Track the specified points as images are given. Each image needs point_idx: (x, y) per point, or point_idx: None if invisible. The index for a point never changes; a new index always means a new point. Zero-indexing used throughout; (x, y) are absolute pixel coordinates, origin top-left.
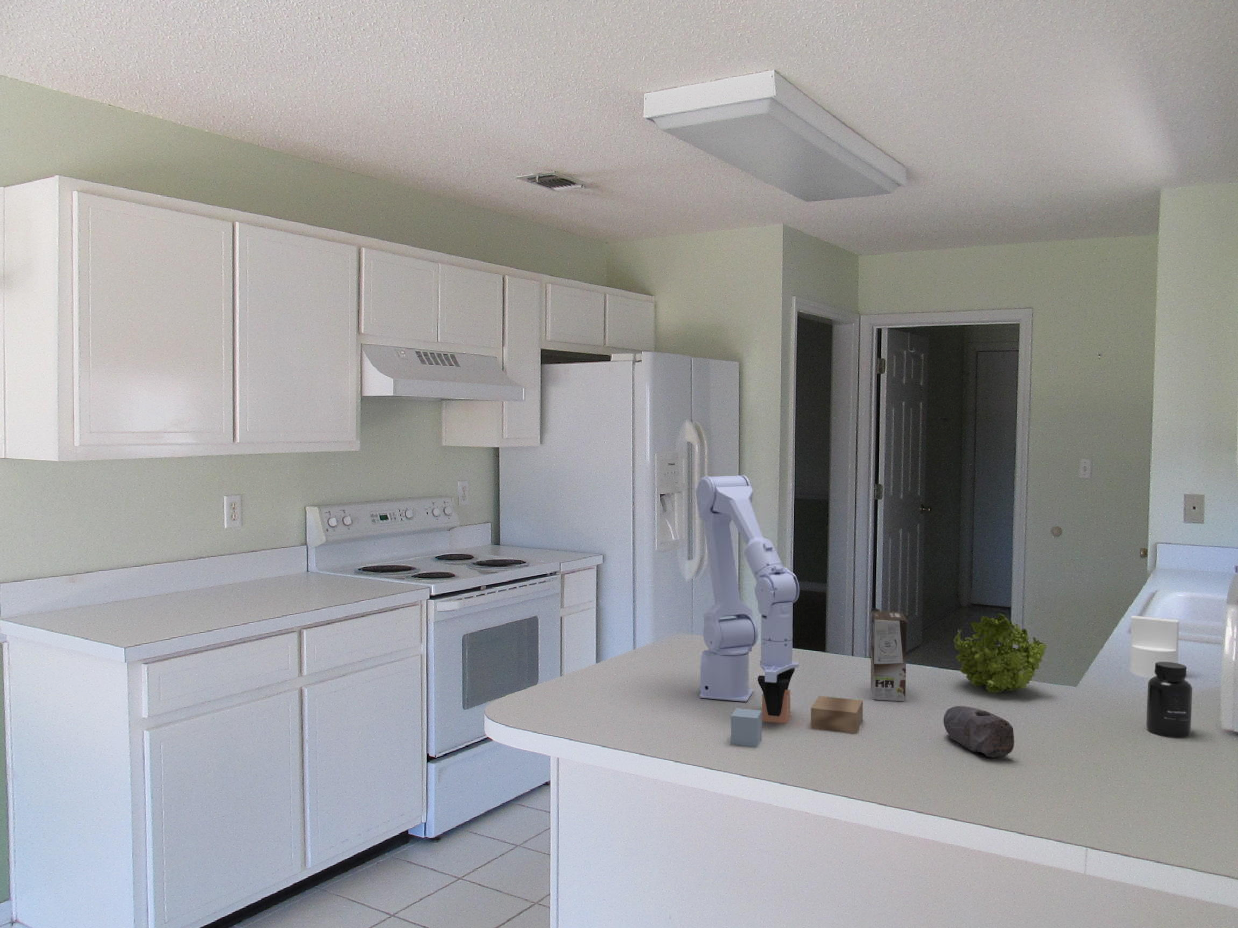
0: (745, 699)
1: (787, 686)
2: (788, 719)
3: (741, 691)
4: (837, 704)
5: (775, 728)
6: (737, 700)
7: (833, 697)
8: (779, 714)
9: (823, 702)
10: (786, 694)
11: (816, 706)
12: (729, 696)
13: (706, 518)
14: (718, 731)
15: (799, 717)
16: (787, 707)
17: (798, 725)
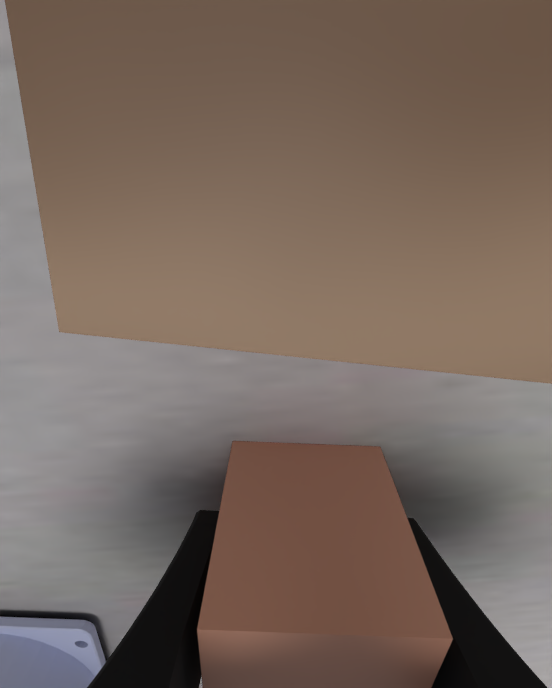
0: (87, 633)
1: (170, 681)
2: (313, 445)
3: (40, 680)
4: (413, 11)
5: (480, 488)
6: (100, 645)
7: (35, 119)
8: (418, 527)
9: (342, 258)
10: (372, 643)
11: (530, 332)
12: (91, 681)
13: None
14: (525, 651)
15: (245, 392)
16: (379, 525)
17: (413, 386)
